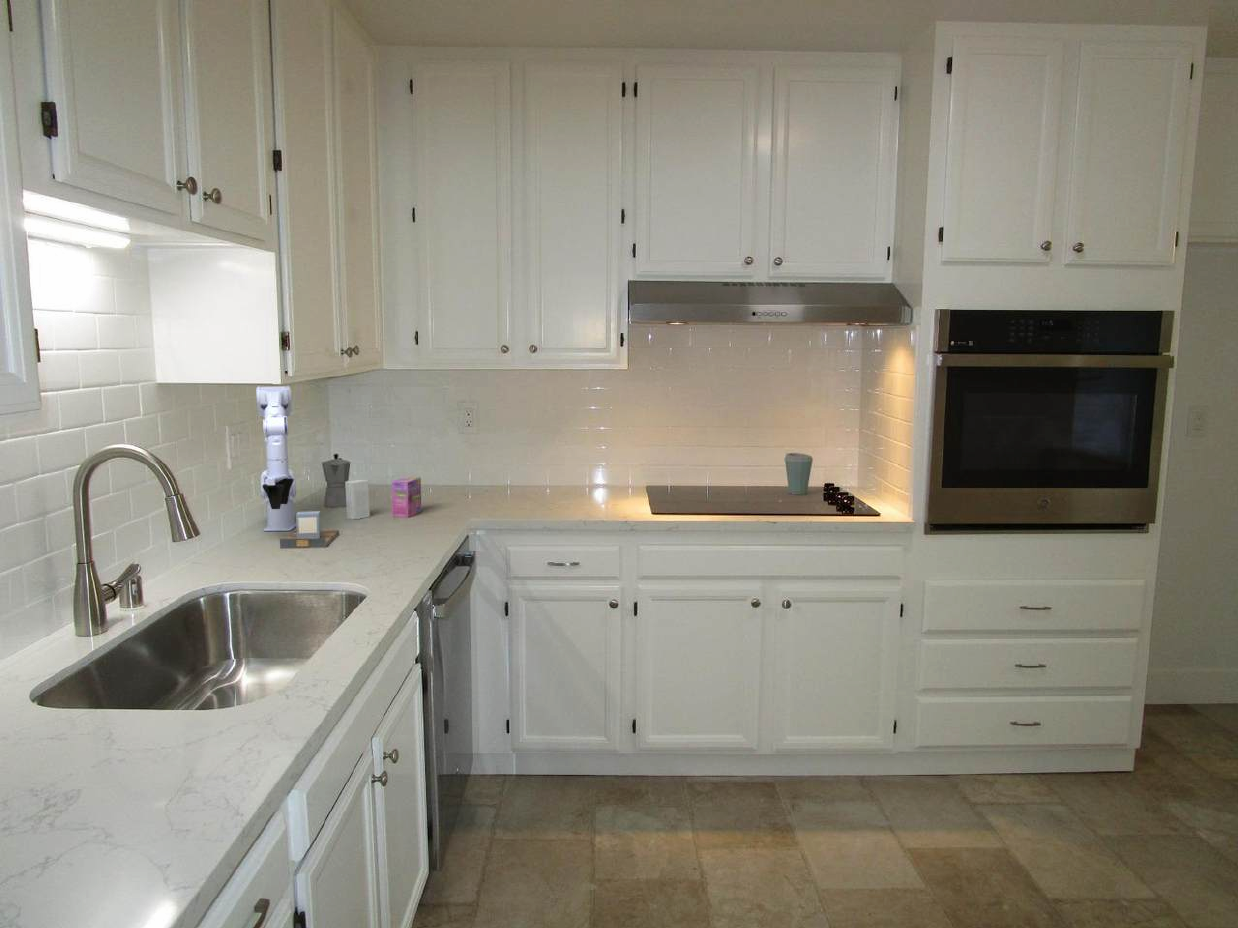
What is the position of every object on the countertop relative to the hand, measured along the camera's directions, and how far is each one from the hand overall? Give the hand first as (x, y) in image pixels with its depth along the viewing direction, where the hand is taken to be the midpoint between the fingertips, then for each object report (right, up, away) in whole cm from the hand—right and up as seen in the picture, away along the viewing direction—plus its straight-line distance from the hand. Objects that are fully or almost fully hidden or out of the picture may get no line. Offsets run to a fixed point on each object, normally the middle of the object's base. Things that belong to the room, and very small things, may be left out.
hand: (279, 506), depth 244 cm
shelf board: (+9, -10, -1) cm, 13 cm away
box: (+27, -5, +37) cm, 46 cm away
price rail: (+10, -11, -9) cm, 17 cm away
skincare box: (+13, -5, +32) cm, 34 cm away
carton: (+9, -9, -2) cm, 13 cm away
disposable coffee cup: (+164, +1, +80) cm, 183 cm away
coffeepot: (-1, -2, +53) cm, 53 cm away
